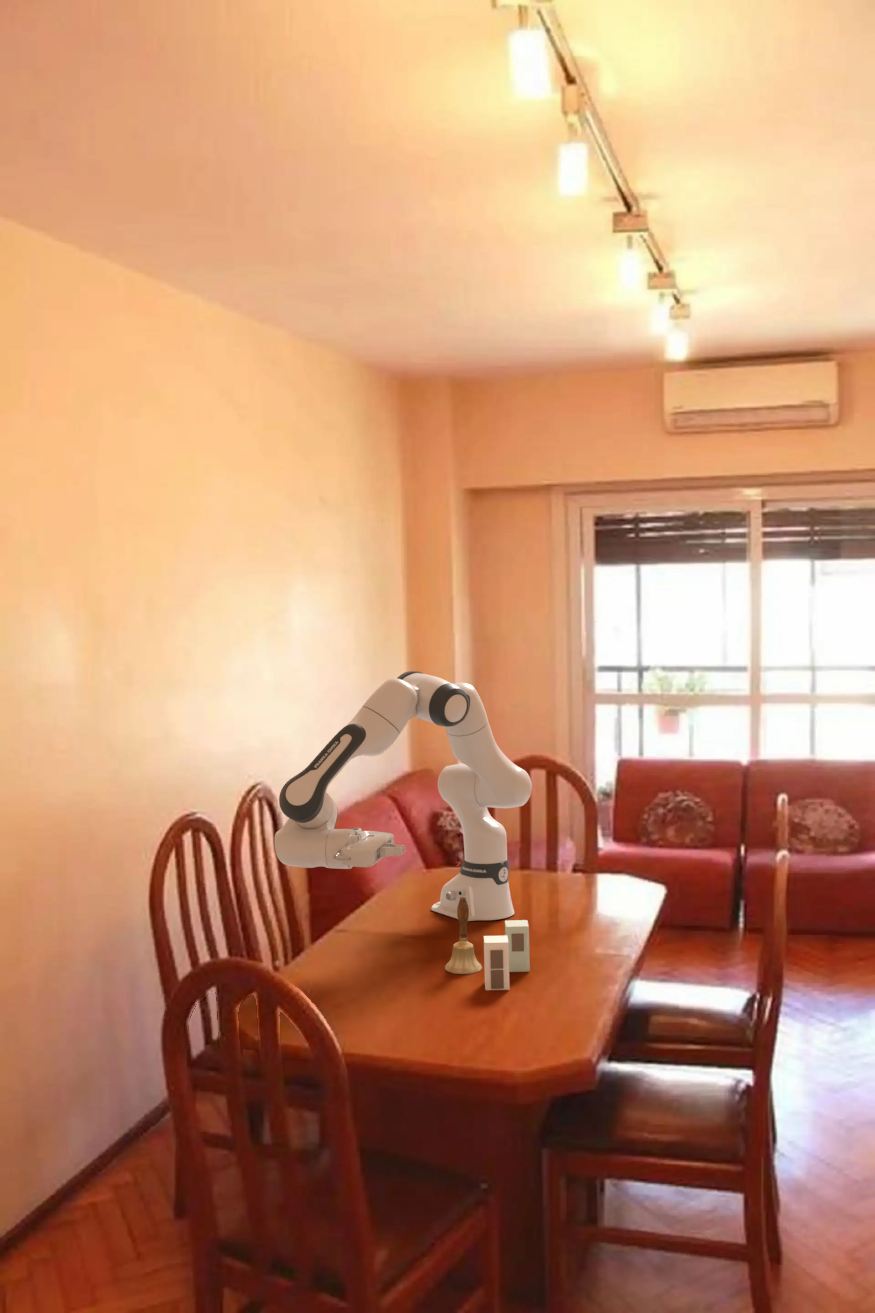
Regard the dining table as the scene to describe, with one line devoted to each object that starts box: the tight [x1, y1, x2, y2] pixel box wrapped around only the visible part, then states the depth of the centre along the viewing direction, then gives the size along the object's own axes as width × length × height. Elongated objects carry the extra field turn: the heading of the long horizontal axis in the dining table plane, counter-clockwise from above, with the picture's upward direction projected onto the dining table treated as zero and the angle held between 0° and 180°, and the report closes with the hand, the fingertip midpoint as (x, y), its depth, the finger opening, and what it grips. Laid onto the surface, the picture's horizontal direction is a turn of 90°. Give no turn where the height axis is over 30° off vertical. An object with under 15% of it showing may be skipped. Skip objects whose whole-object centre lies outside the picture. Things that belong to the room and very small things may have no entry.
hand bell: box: [444, 897, 483, 975], centre depth 252 cm, size 8×8×16 cm
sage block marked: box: [504, 919, 531, 973], centre depth 251 cm, size 5×5×10 cm
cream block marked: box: [483, 934, 511, 991], centre depth 240 cm, size 5×5×10 cm
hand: (403, 850), depth 254 cm, fingers closed
